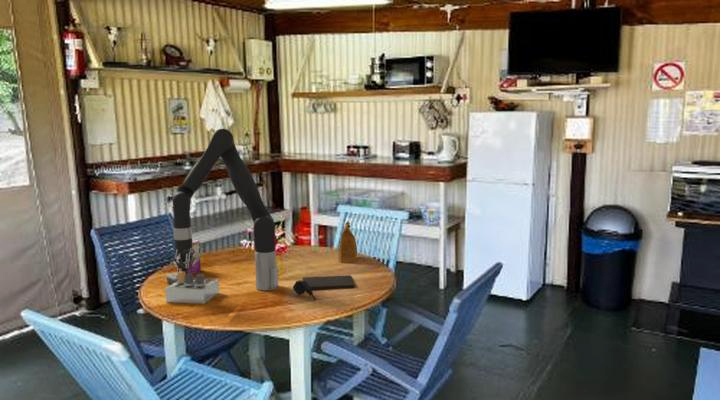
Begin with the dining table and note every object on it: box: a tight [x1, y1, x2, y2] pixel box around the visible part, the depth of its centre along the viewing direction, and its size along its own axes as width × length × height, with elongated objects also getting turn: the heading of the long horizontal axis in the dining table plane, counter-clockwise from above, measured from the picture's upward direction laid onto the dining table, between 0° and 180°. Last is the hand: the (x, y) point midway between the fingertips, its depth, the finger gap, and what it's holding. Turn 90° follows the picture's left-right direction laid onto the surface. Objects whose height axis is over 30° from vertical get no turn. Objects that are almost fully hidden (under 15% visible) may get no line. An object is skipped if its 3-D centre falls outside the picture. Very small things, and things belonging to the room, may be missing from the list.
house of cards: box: [170, 252, 177, 267], centre depth 286 cm, size 9×9×8 cm
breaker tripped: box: [176, 271, 186, 283], centre depth 234 cm, size 3×4×4 cm
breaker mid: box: [184, 273, 195, 286], centre depth 230 cm, size 3×4×4 cm
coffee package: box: [337, 221, 358, 264], centre depth 288 cm, size 10×12×22 cm
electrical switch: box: [164, 272, 189, 285], centre depth 256 cm, size 9×5×9 cm
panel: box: [164, 278, 220, 305], centre depth 234 cm, size 17×15×6 cm
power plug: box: [292, 279, 317, 301], centre depth 233 cm, size 6×8×12 cm
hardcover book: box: [302, 275, 356, 291], centre depth 251 cm, size 16×23×2 cm
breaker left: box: [195, 273, 206, 287], centre depth 229 cm, size 3×4×4 cm
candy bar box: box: [175, 239, 202, 274], centre depth 271 cm, size 11×5×16 cm, turn 111°
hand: (185, 276), depth 238 cm, fingers closed
